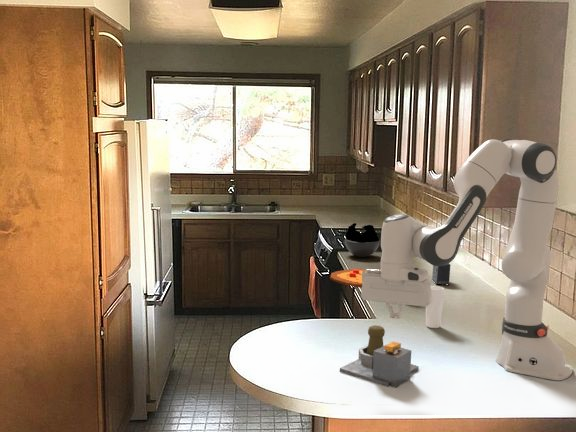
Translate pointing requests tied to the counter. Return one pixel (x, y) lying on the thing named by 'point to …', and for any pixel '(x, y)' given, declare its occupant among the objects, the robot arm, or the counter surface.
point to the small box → (441, 274)
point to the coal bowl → (361, 241)
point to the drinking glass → (435, 307)
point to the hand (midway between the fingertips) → (395, 317)
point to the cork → (375, 338)
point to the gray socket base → (382, 366)
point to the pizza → (348, 277)
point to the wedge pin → (393, 347)
